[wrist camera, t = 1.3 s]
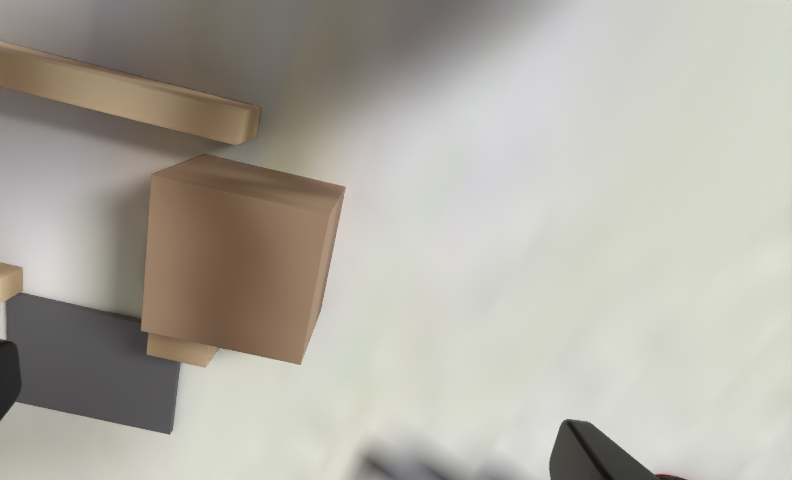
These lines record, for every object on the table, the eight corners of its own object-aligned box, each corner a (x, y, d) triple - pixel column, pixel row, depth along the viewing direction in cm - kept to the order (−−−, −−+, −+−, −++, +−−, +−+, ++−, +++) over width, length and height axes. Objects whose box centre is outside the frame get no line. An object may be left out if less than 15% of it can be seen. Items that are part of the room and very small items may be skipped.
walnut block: (346, 186, 20) (329, 215, 16) (321, 309, 22) (300, 364, 18) (205, 153, 20) (151, 174, 16) (192, 281, 22) (140, 330, 18)
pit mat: (184, 329, 23) (181, 332, 22) (172, 430, 25) (169, 434, 24) (11, 290, 22) (6, 293, 22) (13, 396, 24) (8, 400, 24)
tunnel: (261, 107, 19) (235, 112, 16) (226, 337, 23) (200, 374, 20) (-142, 5, 18) (-242, -8, 16) (-114, 260, 22) (-192, 288, 19)
